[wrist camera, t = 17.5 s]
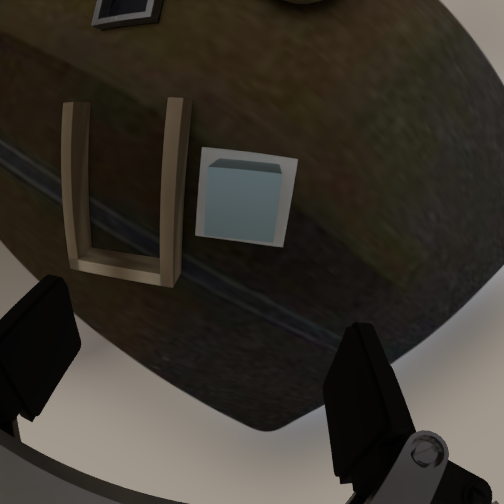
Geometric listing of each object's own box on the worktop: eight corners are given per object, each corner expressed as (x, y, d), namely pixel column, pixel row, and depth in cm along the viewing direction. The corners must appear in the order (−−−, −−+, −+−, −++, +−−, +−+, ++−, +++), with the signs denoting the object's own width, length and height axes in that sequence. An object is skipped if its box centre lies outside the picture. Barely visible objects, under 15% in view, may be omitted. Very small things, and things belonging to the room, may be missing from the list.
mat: (195, 234, 27) (195, 235, 27) (202, 147, 24) (202, 147, 24) (282, 246, 27) (282, 247, 27) (297, 159, 24) (298, 159, 24)
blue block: (215, 214, 26) (204, 235, 21) (219, 158, 24) (207, 166, 19) (272, 220, 26) (273, 242, 21) (279, 164, 24) (282, 173, 19)
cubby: (84, 255, 29) (70, 268, 26) (81, 102, 22) (63, 103, 19) (181, 272, 29) (172, 287, 26) (192, 100, 22) (183, 97, 19)
